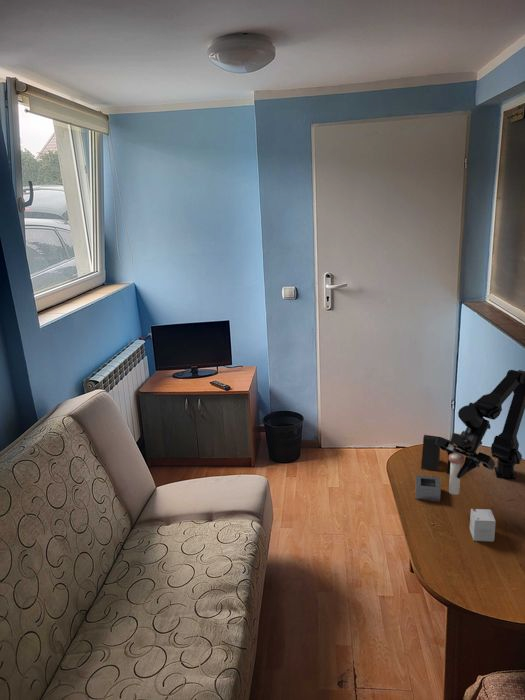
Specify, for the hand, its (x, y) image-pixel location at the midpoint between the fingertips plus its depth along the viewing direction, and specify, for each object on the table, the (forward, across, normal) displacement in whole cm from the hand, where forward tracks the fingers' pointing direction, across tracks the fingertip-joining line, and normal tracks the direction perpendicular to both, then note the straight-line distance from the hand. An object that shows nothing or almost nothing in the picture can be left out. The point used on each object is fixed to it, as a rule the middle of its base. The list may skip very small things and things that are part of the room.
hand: (452, 475), depth 167 cm
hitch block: (+7, -11, +12) cm, 18 cm away
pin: (+4, 0, +6) cm, 7 cm away
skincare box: (+12, +13, +7) cm, 19 cm away
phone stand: (-5, -22, +24) cm, 33 cm away
